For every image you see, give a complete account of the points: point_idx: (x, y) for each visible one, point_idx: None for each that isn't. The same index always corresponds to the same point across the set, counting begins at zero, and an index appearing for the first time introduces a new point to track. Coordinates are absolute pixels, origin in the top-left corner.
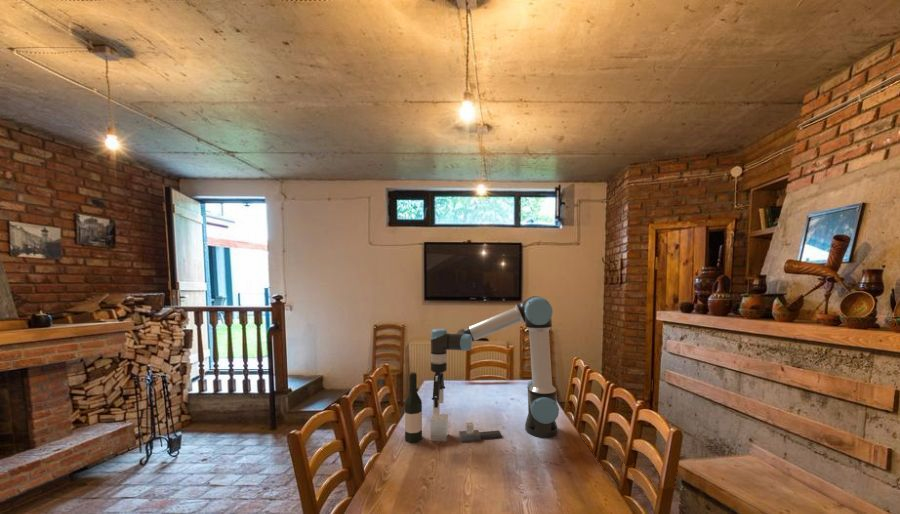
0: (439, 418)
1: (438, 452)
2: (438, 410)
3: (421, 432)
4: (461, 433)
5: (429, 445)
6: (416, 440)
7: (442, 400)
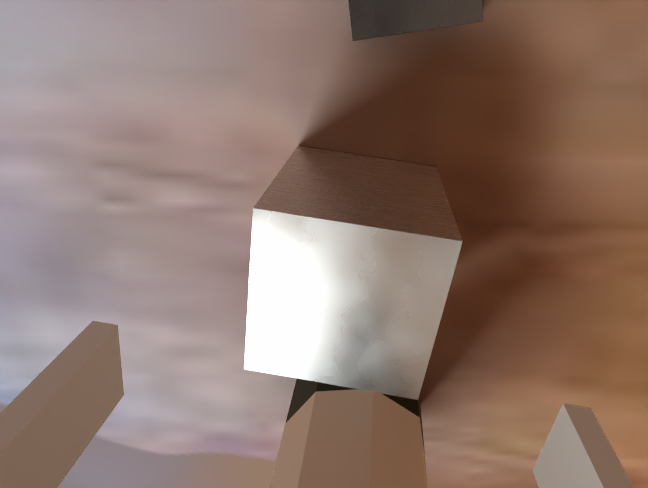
0: (374, 312)
1: (612, 234)
2: (613, 472)
3: None
4: (406, 12)
5: (480, 295)
6: None
7: (92, 366)
